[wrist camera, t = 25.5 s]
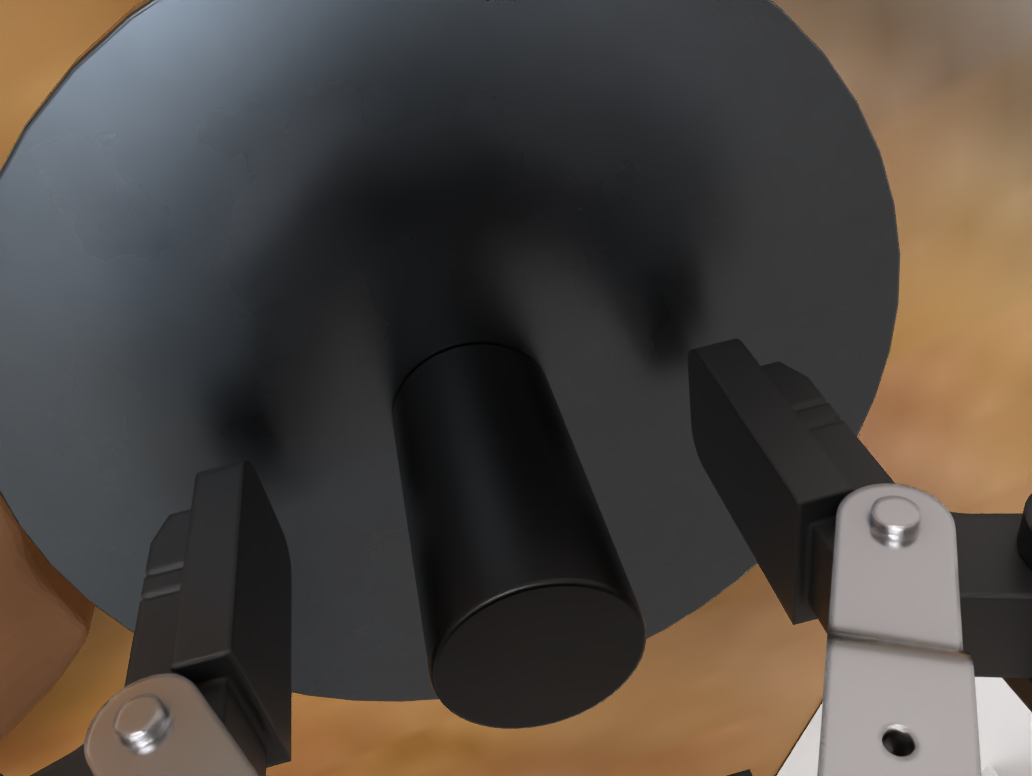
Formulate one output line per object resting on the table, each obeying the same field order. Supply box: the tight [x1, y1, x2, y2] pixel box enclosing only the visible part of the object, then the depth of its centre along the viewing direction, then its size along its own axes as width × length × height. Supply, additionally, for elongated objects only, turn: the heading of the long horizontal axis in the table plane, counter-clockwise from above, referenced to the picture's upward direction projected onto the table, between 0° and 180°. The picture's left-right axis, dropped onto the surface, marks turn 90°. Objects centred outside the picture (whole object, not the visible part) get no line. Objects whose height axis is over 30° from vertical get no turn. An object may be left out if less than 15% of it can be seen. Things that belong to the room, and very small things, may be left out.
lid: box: [0, 0, 900, 729], centre depth 13 cm, size 15×15×6 cm
